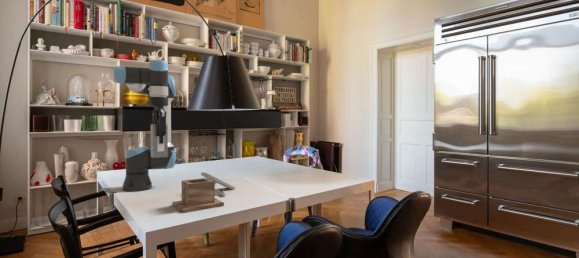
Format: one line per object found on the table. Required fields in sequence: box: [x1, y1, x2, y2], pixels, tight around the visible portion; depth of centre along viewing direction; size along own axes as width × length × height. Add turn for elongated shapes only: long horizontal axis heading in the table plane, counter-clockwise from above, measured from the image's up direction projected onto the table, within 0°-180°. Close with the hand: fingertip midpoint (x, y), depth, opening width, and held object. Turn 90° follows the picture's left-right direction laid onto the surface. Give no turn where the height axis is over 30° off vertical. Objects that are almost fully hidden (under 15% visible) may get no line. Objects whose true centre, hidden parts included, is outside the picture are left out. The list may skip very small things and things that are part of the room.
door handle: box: [200, 171, 236, 198], centre depth 176 cm, size 18×8×20 cm
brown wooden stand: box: [172, 177, 225, 214], centre depth 151 cm, size 15×19×12 cm
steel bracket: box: [150, 124, 168, 158], centre depth 140 cm, size 4×6×14 cm, turn 127°
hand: (159, 150), depth 141 cm, fingers closed on steel bracket, 4 cm apart
